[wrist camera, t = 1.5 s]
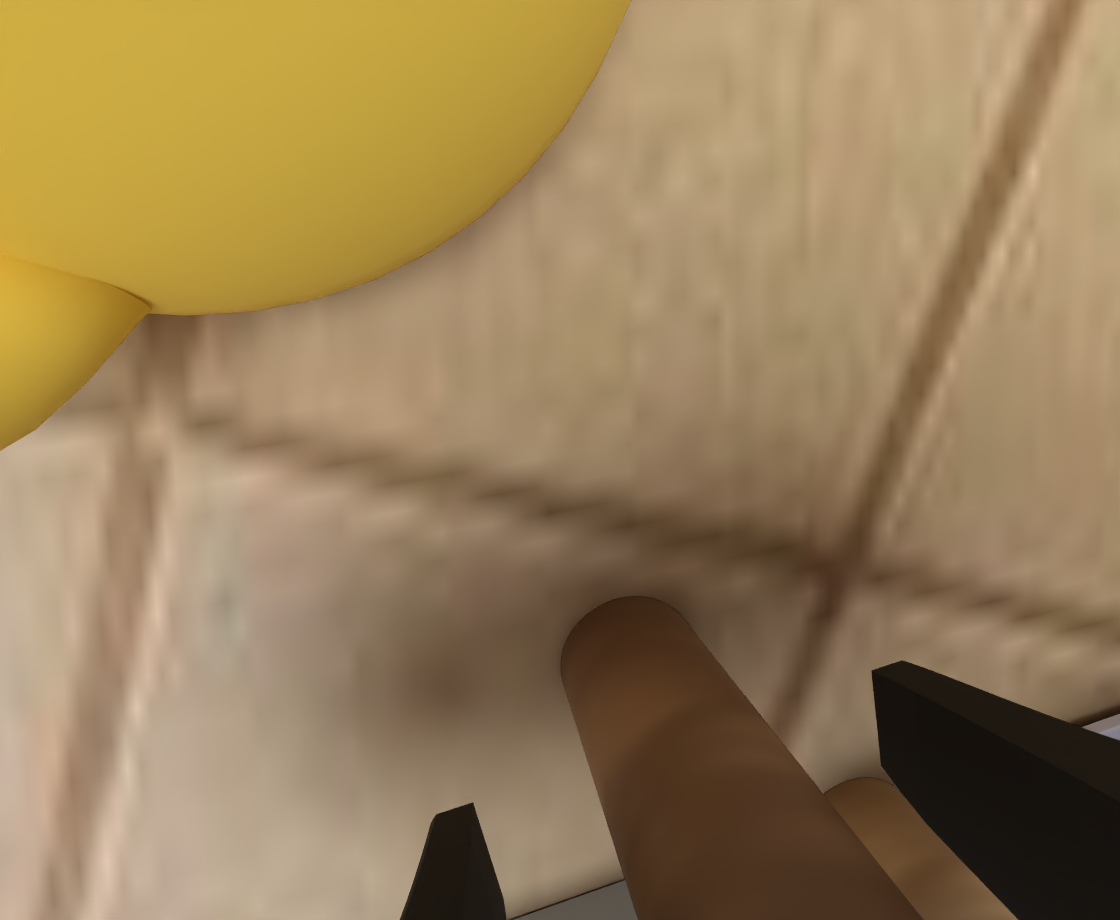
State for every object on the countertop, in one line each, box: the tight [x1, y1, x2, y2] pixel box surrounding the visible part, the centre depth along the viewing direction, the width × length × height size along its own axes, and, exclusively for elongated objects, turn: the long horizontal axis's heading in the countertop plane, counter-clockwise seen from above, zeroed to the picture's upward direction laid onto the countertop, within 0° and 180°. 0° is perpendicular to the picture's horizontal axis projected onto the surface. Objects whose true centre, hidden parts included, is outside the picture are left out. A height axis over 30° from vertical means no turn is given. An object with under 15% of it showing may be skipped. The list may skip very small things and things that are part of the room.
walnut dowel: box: [561, 596, 923, 920], centre depth 10 cm, size 3×3×8 cm
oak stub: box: [824, 778, 1018, 920], centre depth 14 cm, size 3×3×5 cm
